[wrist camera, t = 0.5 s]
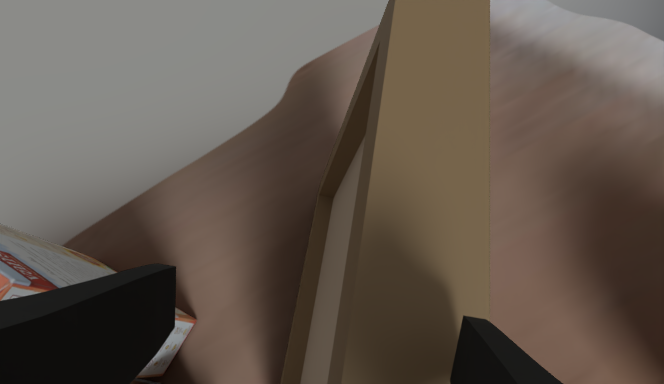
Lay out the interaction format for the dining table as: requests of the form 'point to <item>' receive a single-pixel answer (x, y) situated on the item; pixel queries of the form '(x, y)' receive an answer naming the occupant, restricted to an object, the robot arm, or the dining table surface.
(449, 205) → the photo frame
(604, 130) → the dining table surface
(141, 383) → the tile plain
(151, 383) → the felt mat
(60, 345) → the robot arm
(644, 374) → the dining table surface
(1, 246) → the cracker box
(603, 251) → the dining table surface
